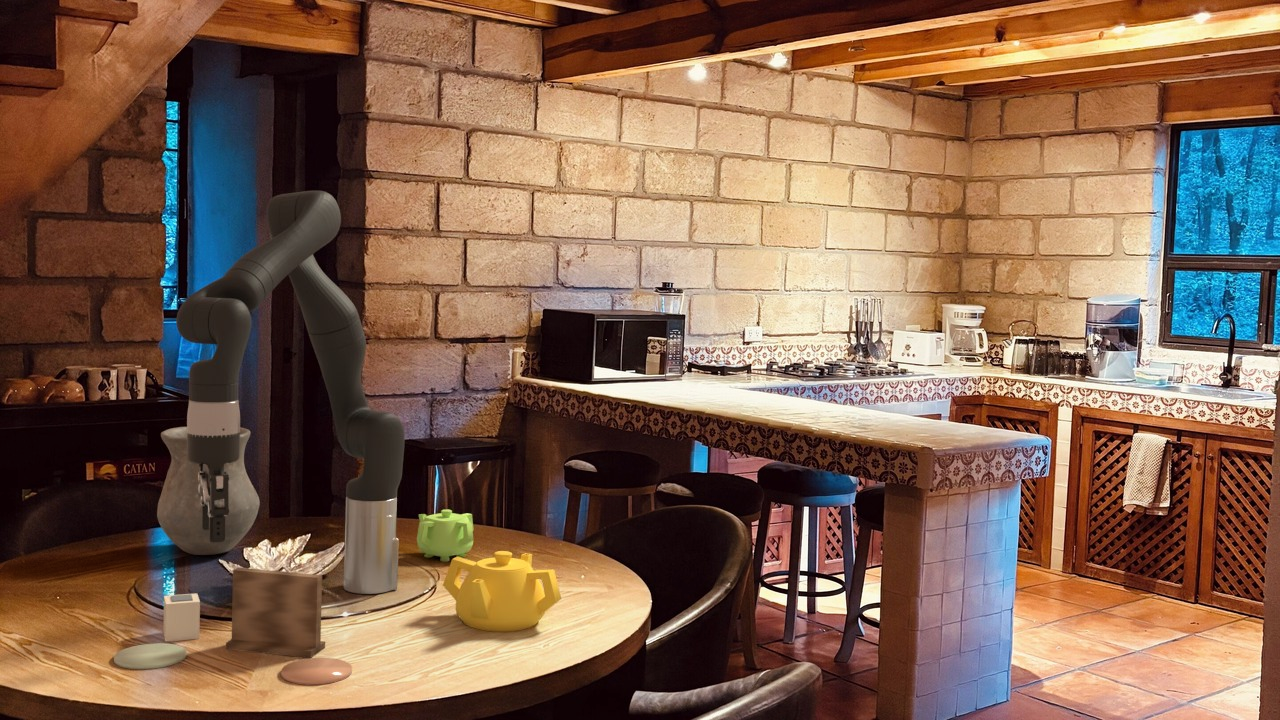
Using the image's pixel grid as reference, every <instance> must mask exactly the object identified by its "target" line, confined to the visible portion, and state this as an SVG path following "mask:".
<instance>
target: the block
mask: <svg viewBox="0 0 1280 720" xmlns="http://www.w3.org/2000/svg"><path fill="white" fill-rule="evenodd" d="M200 611H201V601H200V597H199V595H198V592H197V593H185V594H171V595H170V594H169V595H164V596H163V630H162V631H163V636H164V642H166V643H167V642H176V641H177V642H178V641H186V640H198V639H200V628H201V627H200V621H201V620H200V618H201V617H200V616H201V612H200Z"/></svg>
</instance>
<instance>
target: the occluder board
mask: <svg viewBox="0 0 1280 720" xmlns="http://www.w3.org/2000/svg"><path fill="white" fill-rule="evenodd" d="M322 593H323V575H321V574H315V573H314V574H311V573H300V572H289V571H280V570H279V571H278V570H269V569H258V568H247V567H237V568H234V569H233V570H232V602H231V603H232V605H231V606H232V607H231V609H232V610H231V639H230V640H228V641H226V642H225V650H232V651H242V652H244V651H245V652H251V653H261V654H272V655H279V656H288V657H289V656H291V657H298V658H306V659H309V658H314V656H315V655H317V654H319V653H320V652H321V651H323V650H324V649H326V641H325V640H322V639H321V638H322V636H321V634H322V627H321V626H322V600H323V599H322V598H323V594H322Z"/></svg>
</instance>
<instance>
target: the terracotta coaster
mask: <svg viewBox="0 0 1280 720" xmlns="http://www.w3.org/2000/svg"><path fill="white" fill-rule="evenodd" d="M352 672H353V666H352V664H351V663H349V662H348V661H346V660H343V659H339V658H334V657H311V658H302V659H299V660H294V661H292V662H288V663H287V664H285V665H284V666H283V667H282V668H281V674H280V676H281V677H282V679H283V680H285V681H287V682H289V683H292V684H296V685H305V686H306V685H307V686H315V685H319V686H320V685H326V684H327V685H328V684H333V683H337V682H340V681H343V680H345V679H347V678H349V677H350V676H351V675H352Z"/></svg>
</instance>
